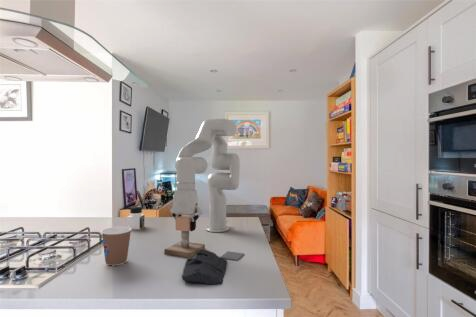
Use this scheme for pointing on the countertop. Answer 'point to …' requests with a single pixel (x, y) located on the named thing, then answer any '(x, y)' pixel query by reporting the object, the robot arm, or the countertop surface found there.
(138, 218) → the medicine bottle
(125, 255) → the coffee cup
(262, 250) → the countertop surface
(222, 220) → the robot arm
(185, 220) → the peach colored cube
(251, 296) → the countertop surface
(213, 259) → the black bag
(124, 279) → the countertop surface
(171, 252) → the square brown stand
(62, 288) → the countertop surface
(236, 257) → the mat
